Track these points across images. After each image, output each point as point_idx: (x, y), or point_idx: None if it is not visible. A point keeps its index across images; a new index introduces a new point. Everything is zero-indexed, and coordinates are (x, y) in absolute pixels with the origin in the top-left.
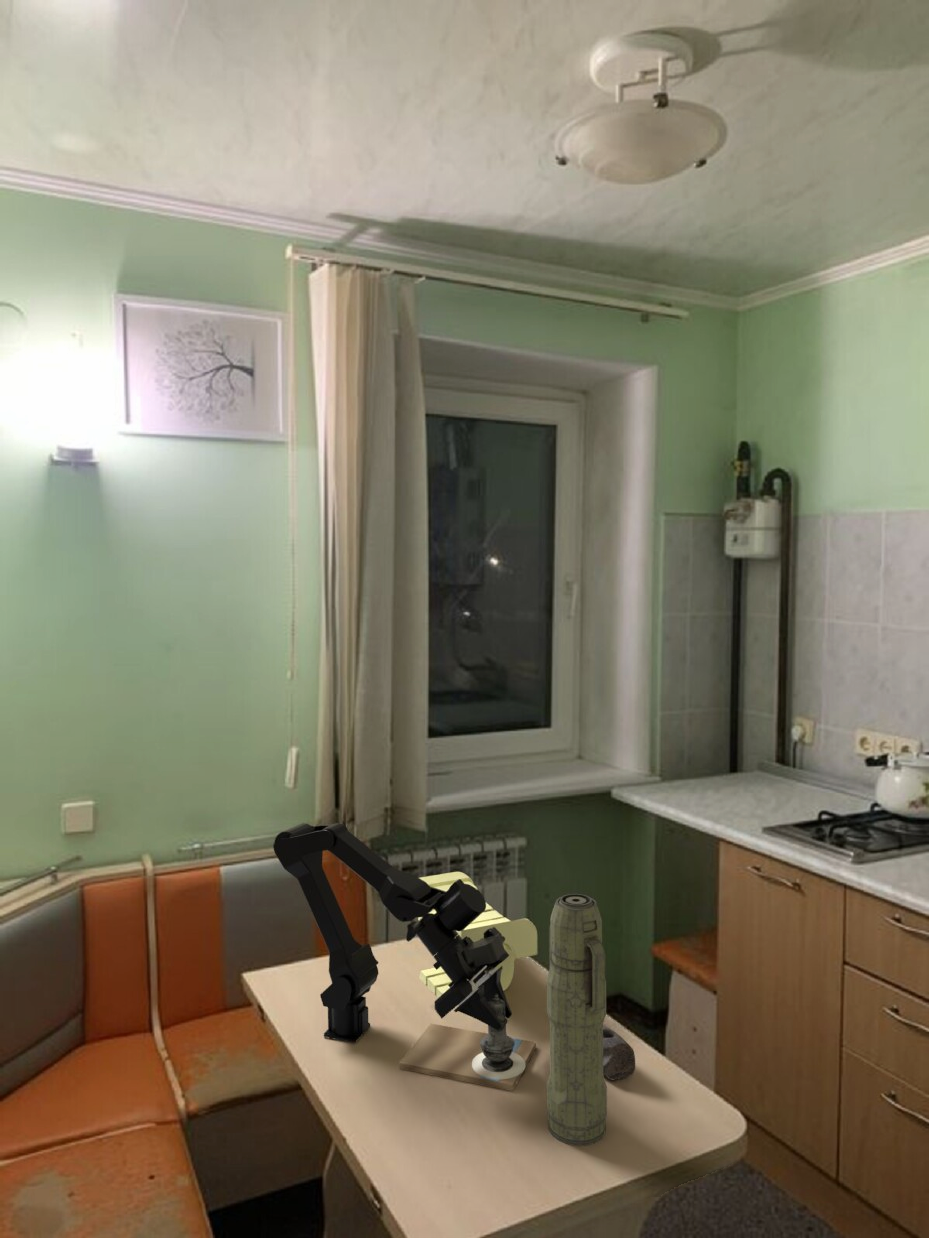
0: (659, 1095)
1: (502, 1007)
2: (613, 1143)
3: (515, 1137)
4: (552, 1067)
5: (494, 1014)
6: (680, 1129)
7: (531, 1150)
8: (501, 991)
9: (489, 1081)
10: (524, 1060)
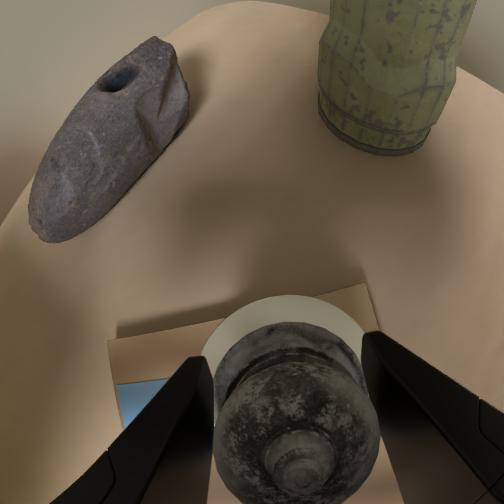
0: (192, 61)
1: (319, 366)
2: None
3: (480, 189)
4: (466, 28)
5: (417, 376)
6: (266, 24)
7: (479, 152)
8: (116, 479)
9: None
10: (219, 324)
